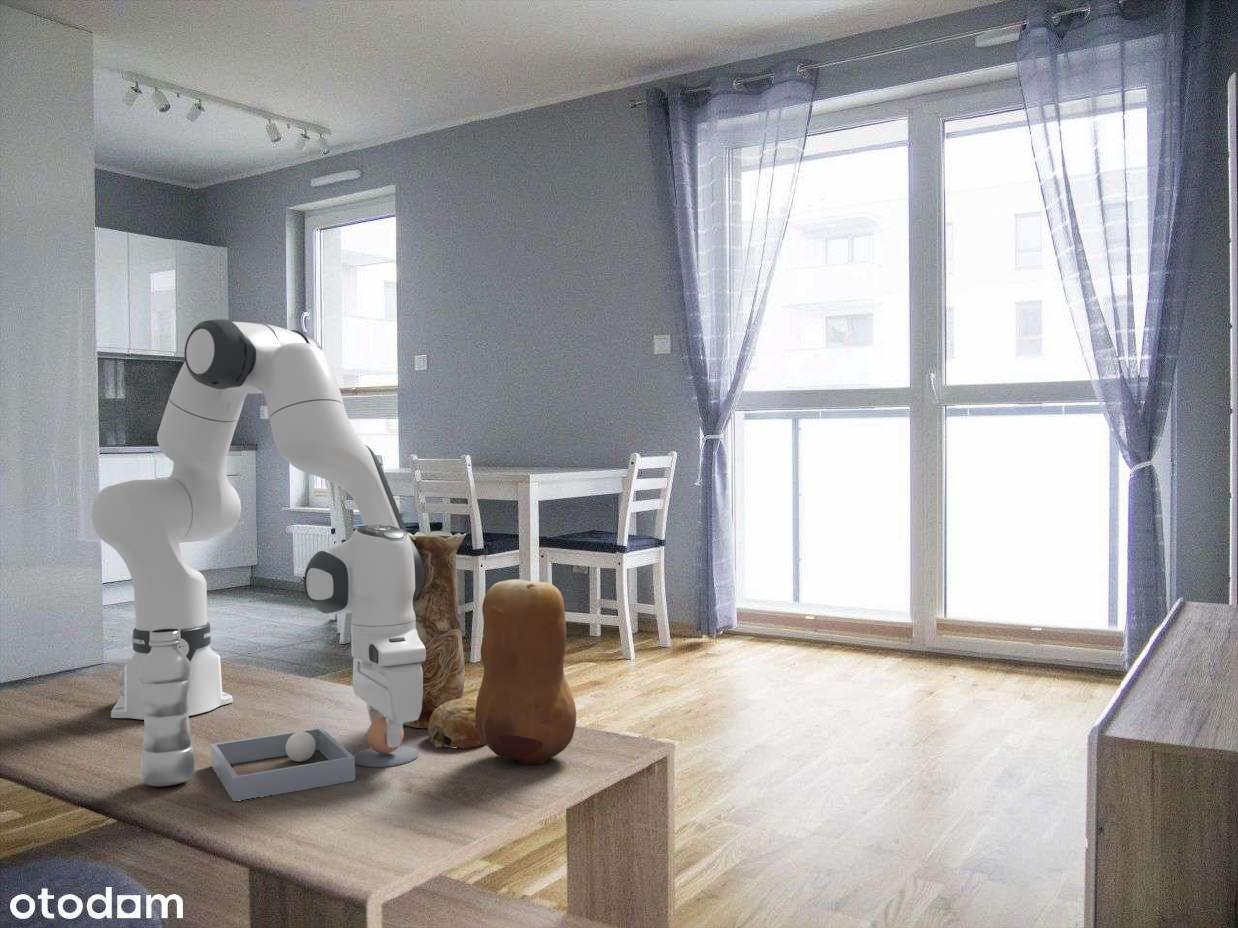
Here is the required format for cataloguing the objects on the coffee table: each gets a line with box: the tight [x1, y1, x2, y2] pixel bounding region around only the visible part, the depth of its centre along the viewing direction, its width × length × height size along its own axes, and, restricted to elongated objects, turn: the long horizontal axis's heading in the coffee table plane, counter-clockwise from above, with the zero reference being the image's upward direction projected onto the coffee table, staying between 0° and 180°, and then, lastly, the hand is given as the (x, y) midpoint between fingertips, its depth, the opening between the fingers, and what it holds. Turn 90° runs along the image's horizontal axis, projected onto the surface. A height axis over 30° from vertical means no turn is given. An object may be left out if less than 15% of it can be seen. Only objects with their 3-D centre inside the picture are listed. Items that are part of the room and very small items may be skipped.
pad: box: [353, 745, 420, 768], centre depth 139 cm, size 9×9×1 cm
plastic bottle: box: [138, 628, 196, 787], centre depth 129 cm, size 6×7×20 cm
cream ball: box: [286, 732, 316, 763], centre depth 138 cm, size 4×4×4 cm
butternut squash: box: [475, 578, 577, 766], centre depth 137 cm, size 14×13×25 cm
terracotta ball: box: [366, 716, 405, 753], centre depth 139 cm, size 5×5×5 cm
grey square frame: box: [210, 727, 356, 802], centre depth 132 cm, size 17×15×3 cm
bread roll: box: [427, 697, 486, 749], centre depth 147 cm, size 10×10×8 cm
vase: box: [403, 530, 467, 729], centre depth 157 cm, size 10×11×30 cm
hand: (385, 740), depth 139 cm, fingers closed on terracotta ball, 5 cm apart
